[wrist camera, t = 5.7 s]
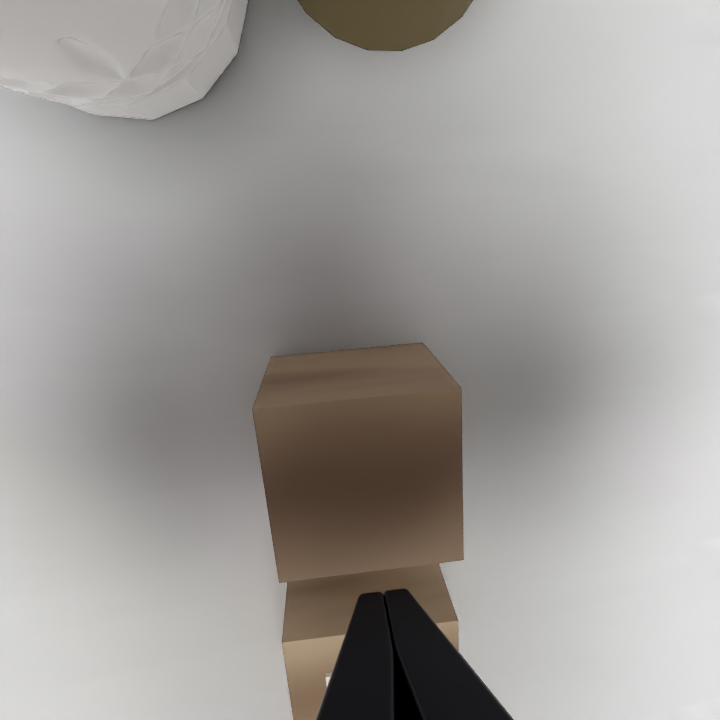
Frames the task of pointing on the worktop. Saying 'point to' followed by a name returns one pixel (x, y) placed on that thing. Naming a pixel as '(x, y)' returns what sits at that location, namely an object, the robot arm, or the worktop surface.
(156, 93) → the white cup
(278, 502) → the plain block
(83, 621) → the worktop surface
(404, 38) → the cork
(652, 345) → the worktop surface
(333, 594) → the tan marked cube block
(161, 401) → the worktop surface
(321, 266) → the worktop surface
